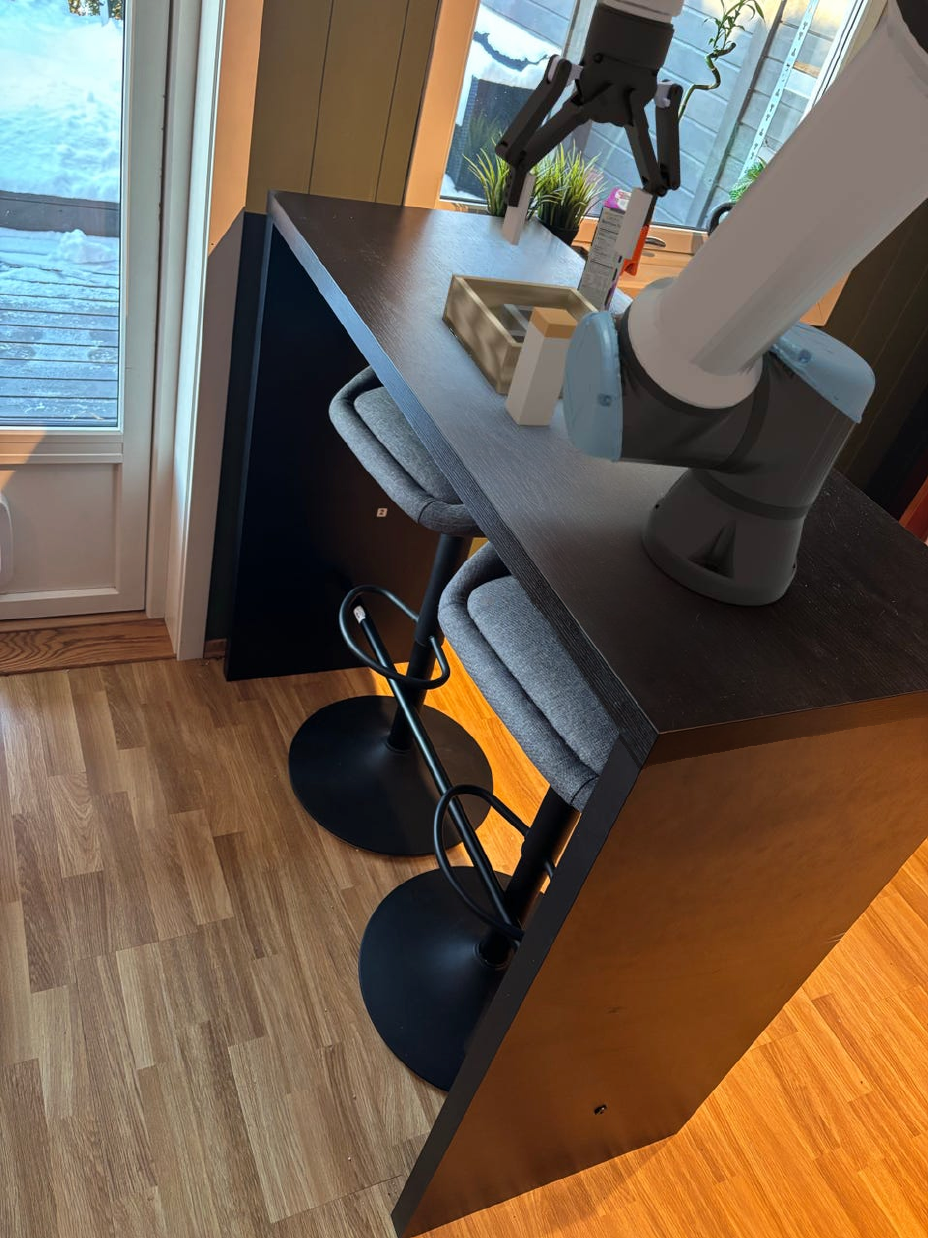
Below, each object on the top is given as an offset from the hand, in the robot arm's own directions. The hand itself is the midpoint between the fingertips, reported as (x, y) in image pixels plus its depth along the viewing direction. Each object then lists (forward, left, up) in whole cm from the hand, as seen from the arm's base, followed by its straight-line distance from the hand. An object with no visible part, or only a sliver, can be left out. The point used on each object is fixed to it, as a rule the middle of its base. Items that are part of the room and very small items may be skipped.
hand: (567, 247), depth 98 cm
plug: (-1, -1, -19) cm, 19 cm away
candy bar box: (+30, -25, -19) cm, 43 cm away
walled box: (+14, -8, -19) cm, 25 cm away
